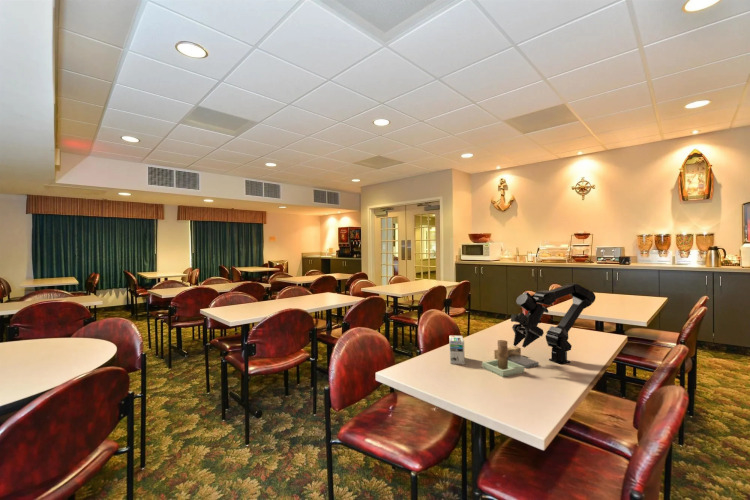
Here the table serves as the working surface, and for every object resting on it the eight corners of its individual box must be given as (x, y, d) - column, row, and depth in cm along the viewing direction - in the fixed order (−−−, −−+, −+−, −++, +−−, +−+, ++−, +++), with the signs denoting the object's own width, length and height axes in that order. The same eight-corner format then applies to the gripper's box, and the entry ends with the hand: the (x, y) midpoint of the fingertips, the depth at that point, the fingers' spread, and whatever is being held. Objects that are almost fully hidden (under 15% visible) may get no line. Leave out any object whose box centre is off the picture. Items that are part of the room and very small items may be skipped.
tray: (502, 363, 150) (502, 358, 150) (524, 372, 139) (524, 366, 139) (482, 367, 146) (482, 362, 146) (502, 377, 135) (502, 371, 135)
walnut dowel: (506, 367, 144) (506, 340, 144) (508, 370, 140) (508, 342, 140) (497, 366, 145) (496, 339, 145) (499, 370, 141) (498, 342, 141)
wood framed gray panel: (517, 358, 159) (517, 354, 159) (538, 366, 148) (538, 362, 148) (505, 361, 156) (505, 356, 156) (525, 369, 145) (525, 364, 145)
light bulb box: (464, 364, 150) (464, 341, 150) (449, 363, 151) (449, 340, 151) (463, 357, 161) (463, 335, 161) (449, 356, 162) (449, 334, 162)
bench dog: (515, 354, 164) (515, 346, 164) (520, 356, 161) (520, 348, 161) (494, 358, 158) (494, 350, 158) (499, 360, 155) (499, 351, 155)
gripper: (509, 307, 158) (495, 335, 156) (527, 305, 140) (511, 337, 137) (530, 319, 157) (516, 348, 154) (551, 319, 139) (535, 352, 136)
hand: (518, 346), depth 145 cm, fingers open, 9 cm apart
